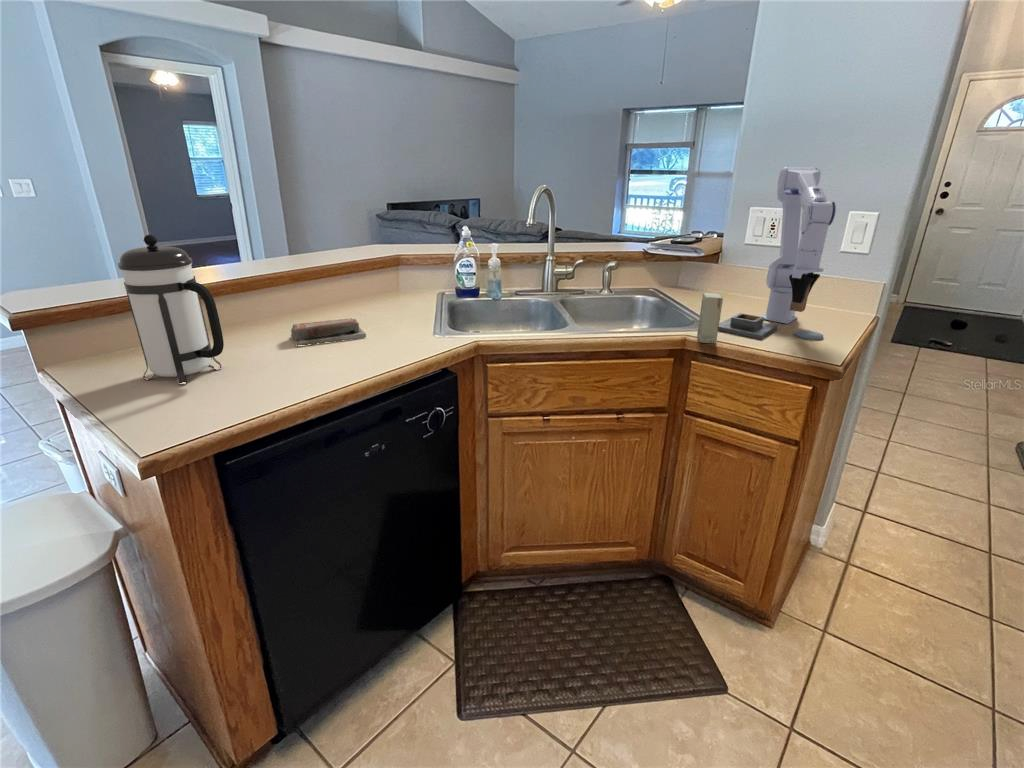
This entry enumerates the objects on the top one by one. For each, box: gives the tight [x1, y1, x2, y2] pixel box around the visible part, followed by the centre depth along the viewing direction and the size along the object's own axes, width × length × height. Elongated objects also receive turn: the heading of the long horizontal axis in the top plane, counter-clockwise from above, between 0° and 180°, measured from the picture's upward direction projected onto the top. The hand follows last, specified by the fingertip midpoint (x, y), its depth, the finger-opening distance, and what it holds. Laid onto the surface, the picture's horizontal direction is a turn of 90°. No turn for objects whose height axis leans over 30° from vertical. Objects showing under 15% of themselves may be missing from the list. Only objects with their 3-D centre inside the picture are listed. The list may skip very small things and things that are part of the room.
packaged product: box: [290, 318, 367, 346], centre depth 142 cm, size 18×5×10 cm
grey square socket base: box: [718, 312, 779, 341], centre depth 151 cm, size 13×13×4 cm
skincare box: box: [696, 292, 724, 344], centre depth 140 cm, size 6×4×12 cm
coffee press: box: [117, 234, 225, 384], centre depth 111 cm, size 17×16×30 cm
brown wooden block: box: [790, 285, 810, 313], centre depth 143 cm, size 3×3×7 cm
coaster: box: [794, 329, 824, 341], centre depth 146 cm, size 7×7×1 cm
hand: (799, 301), depth 144 cm, fingers closed on brown wooden block, 3 cm apart
